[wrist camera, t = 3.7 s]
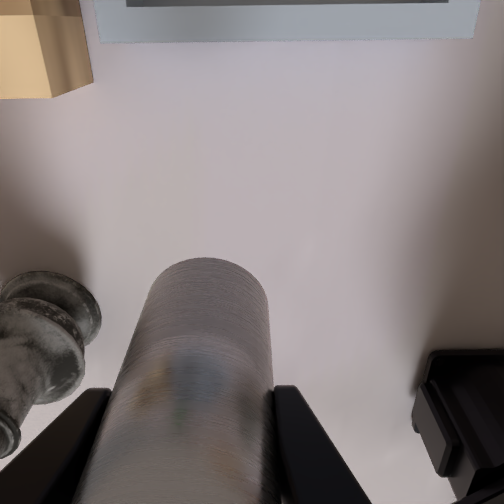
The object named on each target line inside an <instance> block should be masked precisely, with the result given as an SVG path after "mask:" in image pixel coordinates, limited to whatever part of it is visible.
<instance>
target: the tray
mask: <svg viewBox="0 0 504 504" xmlns="http://www.w3.org/2000/svg"><path fill="white" fill-rule="evenodd" d="M93 2H94V8H95V14H96V20H97V26H98V32H99V38H100V43H175V42H250V41H325V40H400V39H473V35H474V30H475V25H476V21H477V16H478V12H479V7H480V2H481V0H93Z"/></svg>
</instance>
